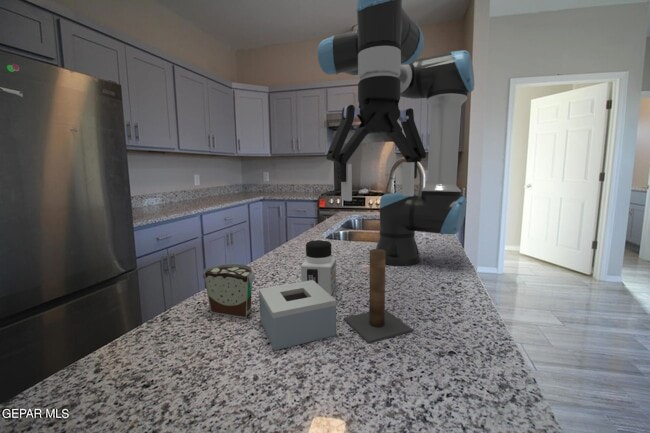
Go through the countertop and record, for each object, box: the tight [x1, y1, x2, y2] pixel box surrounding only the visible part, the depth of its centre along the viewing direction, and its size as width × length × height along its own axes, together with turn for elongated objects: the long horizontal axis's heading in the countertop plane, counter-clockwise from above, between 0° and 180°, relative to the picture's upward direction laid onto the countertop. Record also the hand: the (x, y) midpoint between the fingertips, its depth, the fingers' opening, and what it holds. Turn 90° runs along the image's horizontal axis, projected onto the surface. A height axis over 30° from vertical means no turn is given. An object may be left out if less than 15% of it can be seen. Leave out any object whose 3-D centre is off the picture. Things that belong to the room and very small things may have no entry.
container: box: [300, 239, 337, 296], centre depth 81 cm, size 8×8×13 cm
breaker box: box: [258, 280, 337, 351], centre depth 62 cm, size 12×12×7 cm
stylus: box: [368, 248, 386, 327], centre depth 61 cm, size 3×3×15 cm
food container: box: [201, 263, 256, 319], centre depth 70 cm, size 12×6×10 cm, turn 71°
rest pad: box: [343, 309, 414, 344], centre depth 63 cm, size 10×10×1 cm
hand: (378, 198), depth 59 cm, fingers open, 13 cm apart
